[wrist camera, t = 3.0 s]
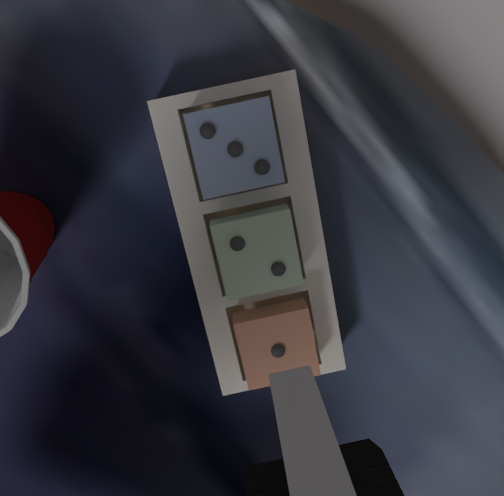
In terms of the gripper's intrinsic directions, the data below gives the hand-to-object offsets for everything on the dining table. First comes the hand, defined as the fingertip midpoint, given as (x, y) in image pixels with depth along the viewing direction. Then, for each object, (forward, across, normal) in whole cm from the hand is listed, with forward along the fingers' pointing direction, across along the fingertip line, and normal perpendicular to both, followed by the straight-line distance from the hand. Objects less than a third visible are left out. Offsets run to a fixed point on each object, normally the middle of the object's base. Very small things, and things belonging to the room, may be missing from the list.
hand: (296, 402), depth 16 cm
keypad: (+24, 0, 0) cm, 24 cm away
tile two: (+21, 0, 0) cm, 21 cm away
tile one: (+21, 0, -8) cm, 22 cm away
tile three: (+21, 0, +8) cm, 22 cm away
